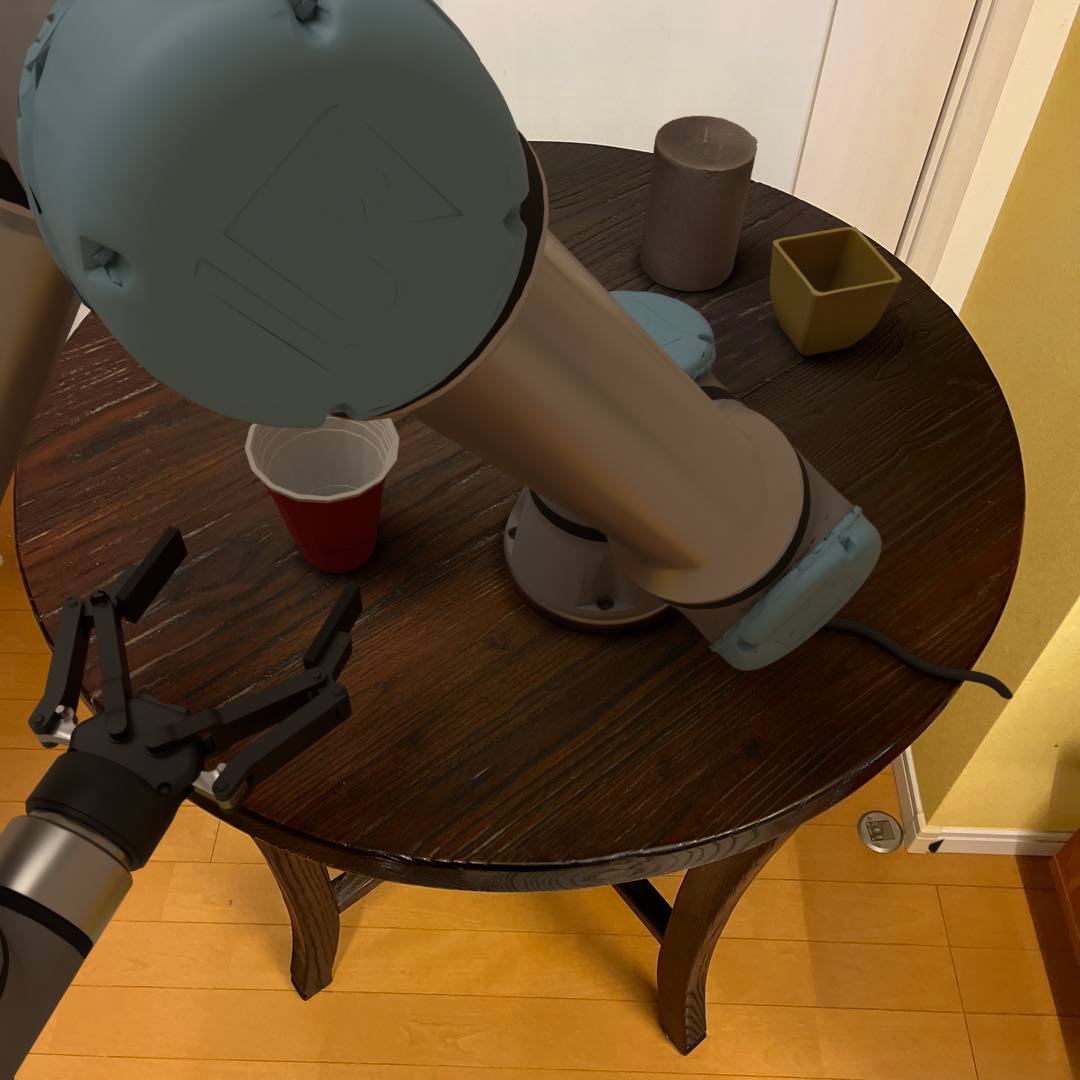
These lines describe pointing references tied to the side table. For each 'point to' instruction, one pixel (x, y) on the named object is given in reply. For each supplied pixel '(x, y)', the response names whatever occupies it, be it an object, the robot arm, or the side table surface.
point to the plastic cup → (327, 484)
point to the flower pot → (829, 288)
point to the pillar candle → (696, 201)
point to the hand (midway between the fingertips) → (266, 566)
